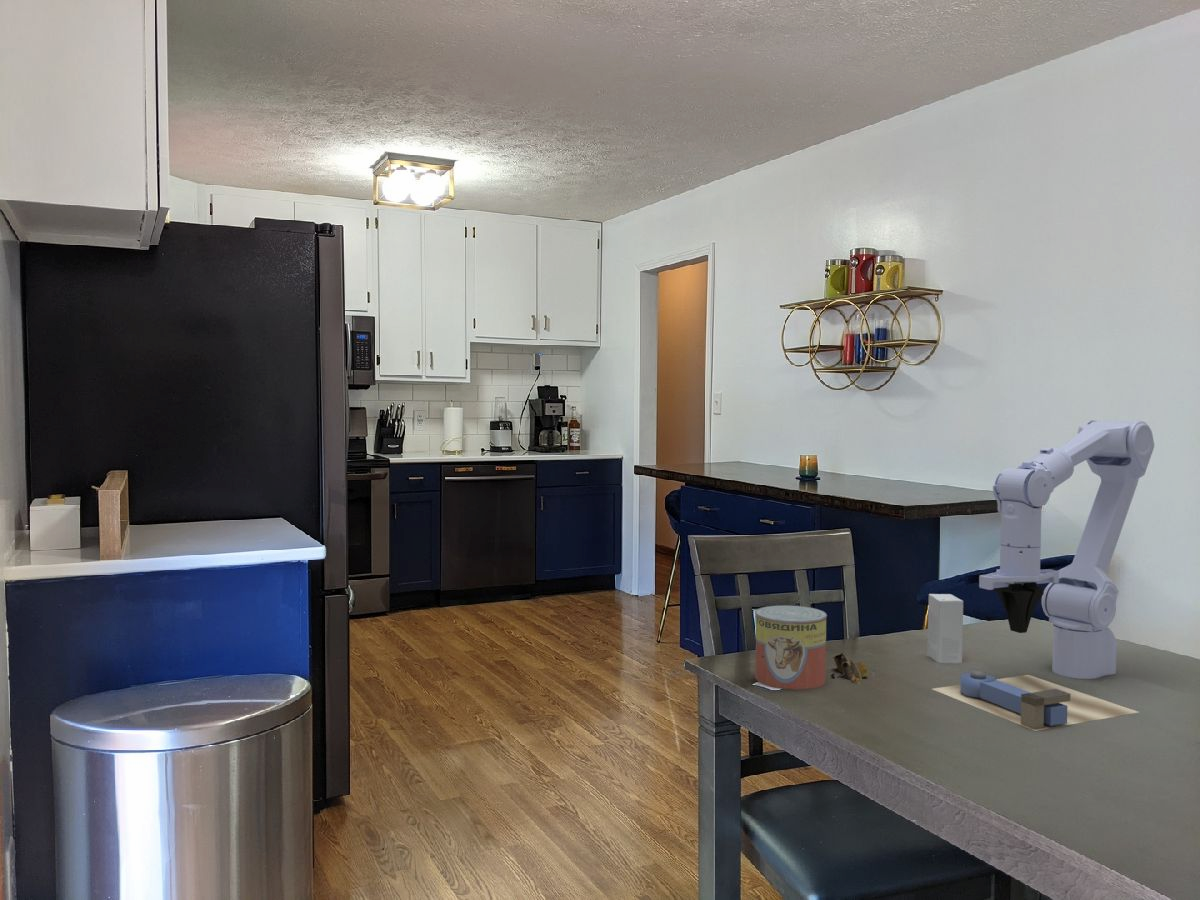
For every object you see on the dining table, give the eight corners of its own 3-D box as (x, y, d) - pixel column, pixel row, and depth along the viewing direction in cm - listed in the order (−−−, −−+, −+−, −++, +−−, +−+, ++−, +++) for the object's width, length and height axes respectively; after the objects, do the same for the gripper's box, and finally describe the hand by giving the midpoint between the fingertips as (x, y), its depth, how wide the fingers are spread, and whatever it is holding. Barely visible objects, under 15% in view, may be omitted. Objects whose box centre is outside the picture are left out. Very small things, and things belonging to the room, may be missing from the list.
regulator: (885, 708, 142) (862, 664, 156) (877, 686, 141) (856, 644, 155) (837, 723, 143) (819, 678, 157) (829, 700, 142) (812, 657, 156)
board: (1027, 681, 152) (1027, 674, 152) (1139, 720, 134) (1139, 712, 134) (931, 696, 145) (931, 688, 145) (1035, 739, 126) (1035, 730, 126)
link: (953, 689, 143) (953, 669, 143) (978, 686, 145) (978, 666, 145) (1045, 726, 127) (1045, 703, 127) (1072, 722, 129) (1073, 699, 128)
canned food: (748, 692, 147) (749, 617, 146) (761, 673, 157) (761, 603, 157) (821, 700, 143) (822, 623, 142) (829, 680, 153) (830, 608, 153)
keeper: (1055, 726, 131) (1056, 688, 131) (1069, 732, 129) (1070, 693, 129) (1020, 732, 129) (1021, 694, 128) (1034, 738, 127) (1035, 699, 126)
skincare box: (963, 670, 159) (964, 600, 158) (937, 669, 159) (939, 600, 159) (950, 660, 165) (951, 593, 165) (926, 660, 165) (927, 593, 165)
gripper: (1034, 539, 151) (1032, 621, 152) (965, 544, 146) (963, 629, 147) (1071, 545, 145) (1068, 631, 145) (1000, 550, 139) (998, 640, 140)
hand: (1018, 631), depth 146 cm, fingers closed
